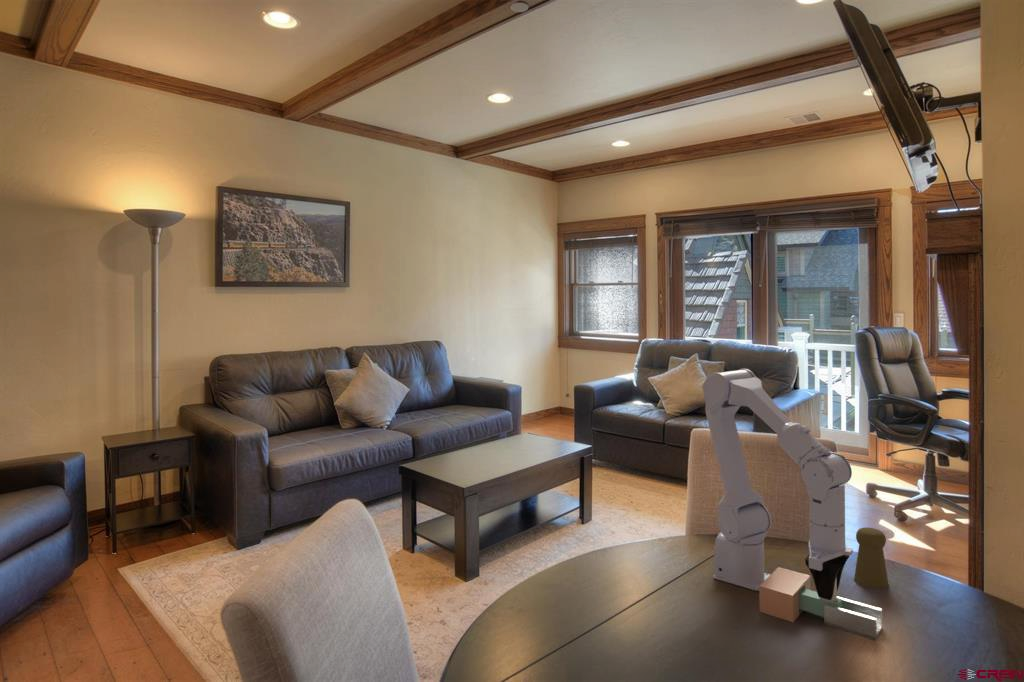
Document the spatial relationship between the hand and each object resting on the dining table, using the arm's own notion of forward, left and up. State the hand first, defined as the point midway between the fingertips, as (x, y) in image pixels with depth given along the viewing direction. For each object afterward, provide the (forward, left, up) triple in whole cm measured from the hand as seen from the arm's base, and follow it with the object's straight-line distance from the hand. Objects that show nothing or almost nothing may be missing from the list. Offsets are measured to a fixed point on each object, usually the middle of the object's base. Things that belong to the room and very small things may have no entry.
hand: (827, 594), depth 108 cm
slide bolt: (-2, 0, -5) cm, 5 cm away
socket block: (-7, 0, -5) cm, 9 cm away
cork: (+3, +20, -5) cm, 21 cm away
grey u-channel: (+4, 0, -5) cm, 6 cm away
